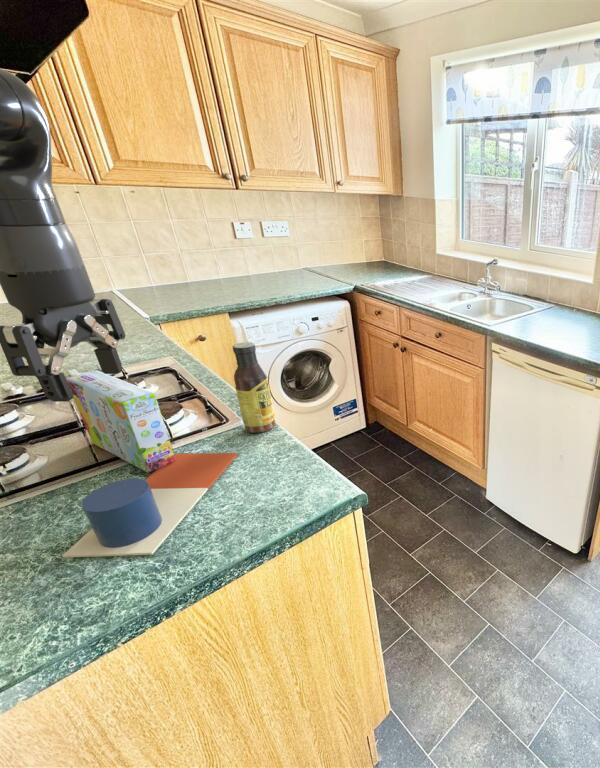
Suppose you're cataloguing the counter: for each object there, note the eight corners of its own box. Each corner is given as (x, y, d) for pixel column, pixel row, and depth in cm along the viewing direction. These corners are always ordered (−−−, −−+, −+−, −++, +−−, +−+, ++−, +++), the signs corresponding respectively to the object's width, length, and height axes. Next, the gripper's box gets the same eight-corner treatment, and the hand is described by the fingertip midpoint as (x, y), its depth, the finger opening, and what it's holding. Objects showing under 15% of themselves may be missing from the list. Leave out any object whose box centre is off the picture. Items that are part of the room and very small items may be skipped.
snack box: (180, 459, 83) (156, 391, 76) (147, 475, 78) (118, 403, 72) (123, 431, 91) (96, 367, 84) (90, 444, 86) (59, 377, 80)
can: (85, 548, 62) (66, 512, 59) (123, 513, 69) (108, 478, 66) (141, 547, 63) (125, 511, 60) (172, 511, 70) (160, 478, 67)
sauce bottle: (271, 434, 93) (253, 350, 85) (240, 435, 92) (219, 350, 84) (280, 419, 99) (264, 340, 91) (252, 420, 98) (233, 340, 90)
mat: (62, 557, 61) (61, 555, 61) (174, 455, 84) (174, 453, 84) (152, 554, 62) (151, 552, 62) (237, 454, 86) (237, 453, 86)
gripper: (56, 253, 56) (100, 365, 63) (-65, 273, 43) (6, 411, 50) (118, 256, 57) (154, 366, 64) (18, 276, 44) (77, 411, 51)
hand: (89, 385), depth 57 cm, fingers open, 8 cm apart
